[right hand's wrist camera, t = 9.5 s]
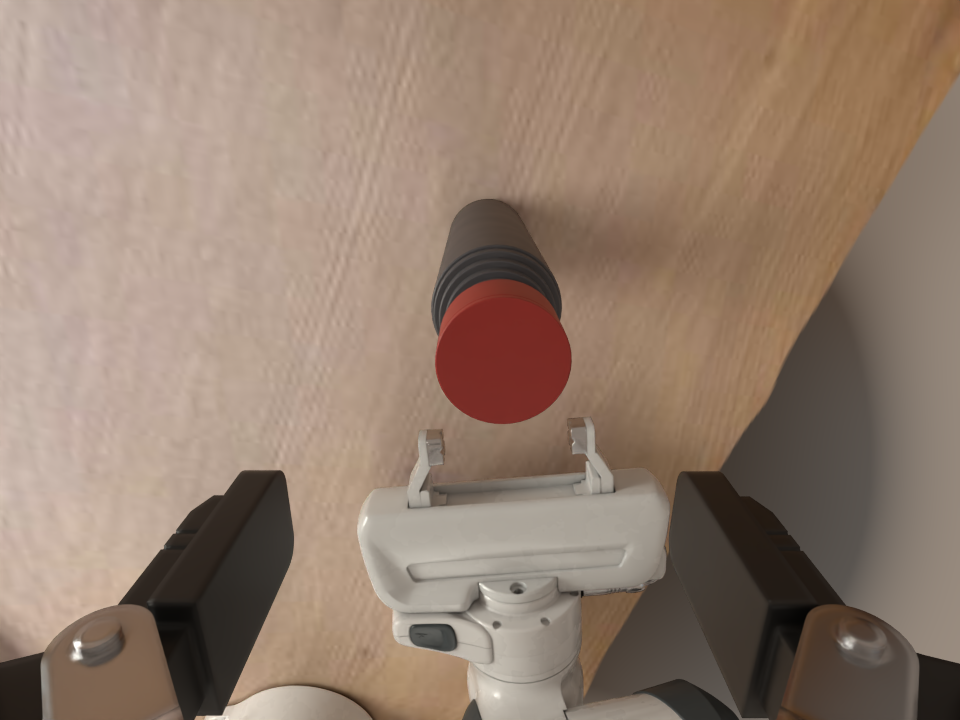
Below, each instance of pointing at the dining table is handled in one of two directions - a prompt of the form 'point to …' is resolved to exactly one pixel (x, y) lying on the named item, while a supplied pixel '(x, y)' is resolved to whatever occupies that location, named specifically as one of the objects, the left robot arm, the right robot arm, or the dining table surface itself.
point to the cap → (502, 352)
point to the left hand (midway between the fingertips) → (505, 427)
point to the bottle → (490, 256)
